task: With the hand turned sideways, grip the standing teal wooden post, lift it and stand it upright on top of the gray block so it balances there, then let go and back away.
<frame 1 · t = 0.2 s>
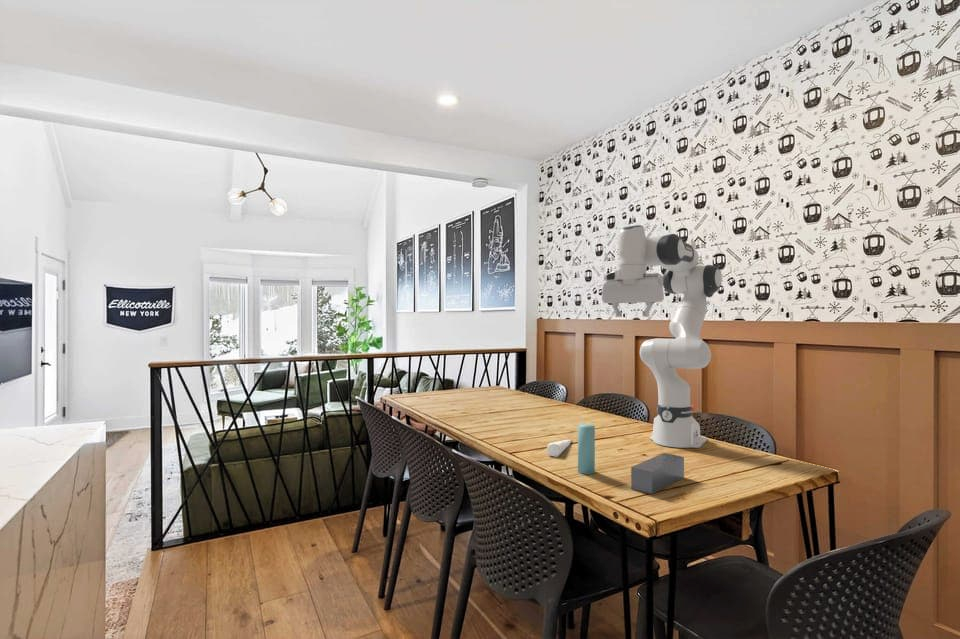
hand: (631, 316, 160), 47 cm above the table, tool pointing down, fingers open, 8 cm apart
unicorn horn: (561, 450, 175), on the table
gray block: (658, 482, 138), on the table
teal post: (586, 471, 149), on the table
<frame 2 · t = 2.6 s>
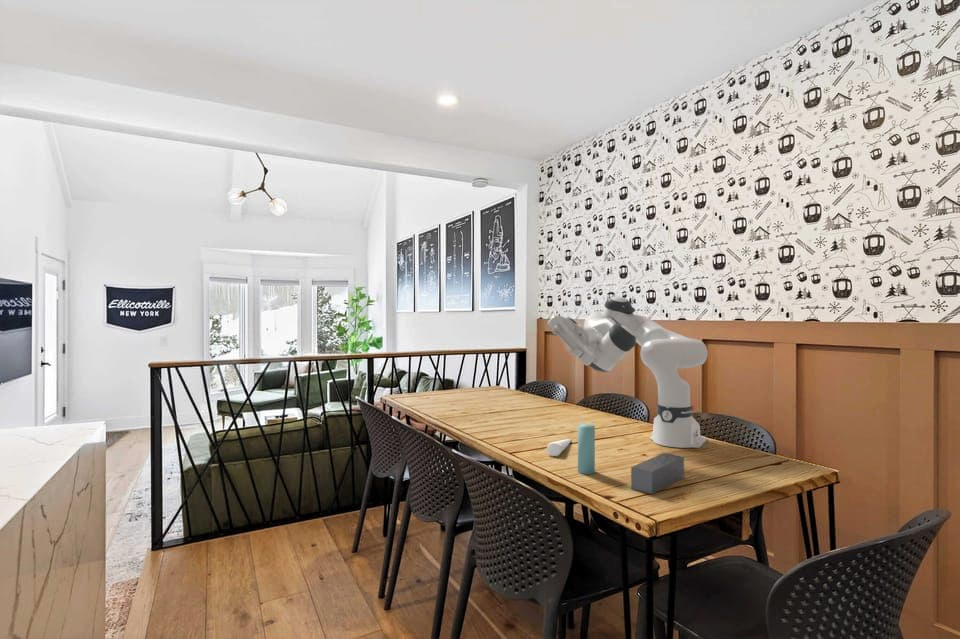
hand: (563, 340, 159), 39 cm above the table, tool horizontal, fingers open, 8 cm apart
nothing on the table moved.
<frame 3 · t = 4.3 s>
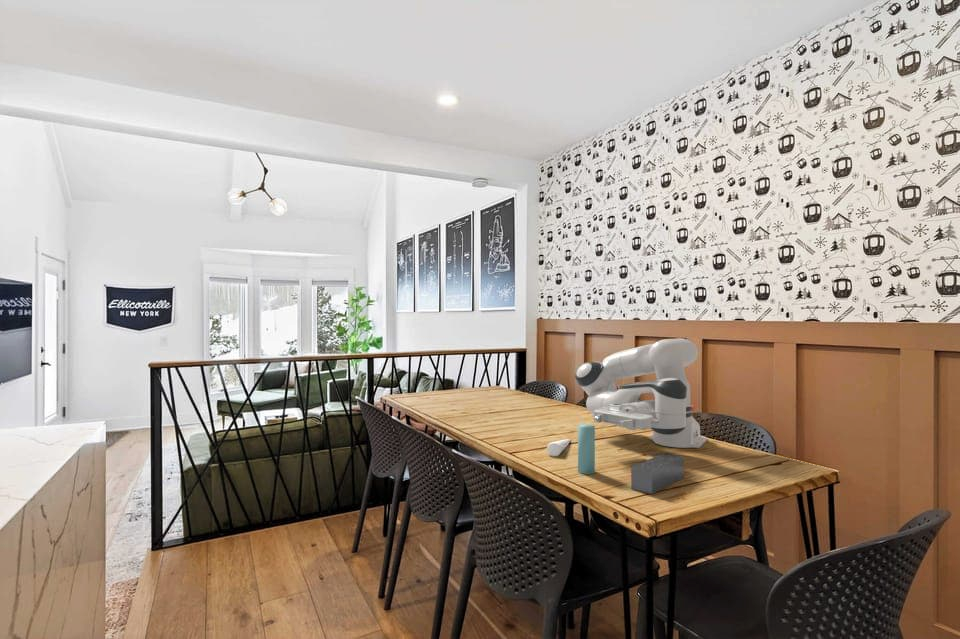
hand: (607, 422, 156), 13 cm above the table, tool horizontal, fingers open, 8 cm apart
nothing on the table moved.
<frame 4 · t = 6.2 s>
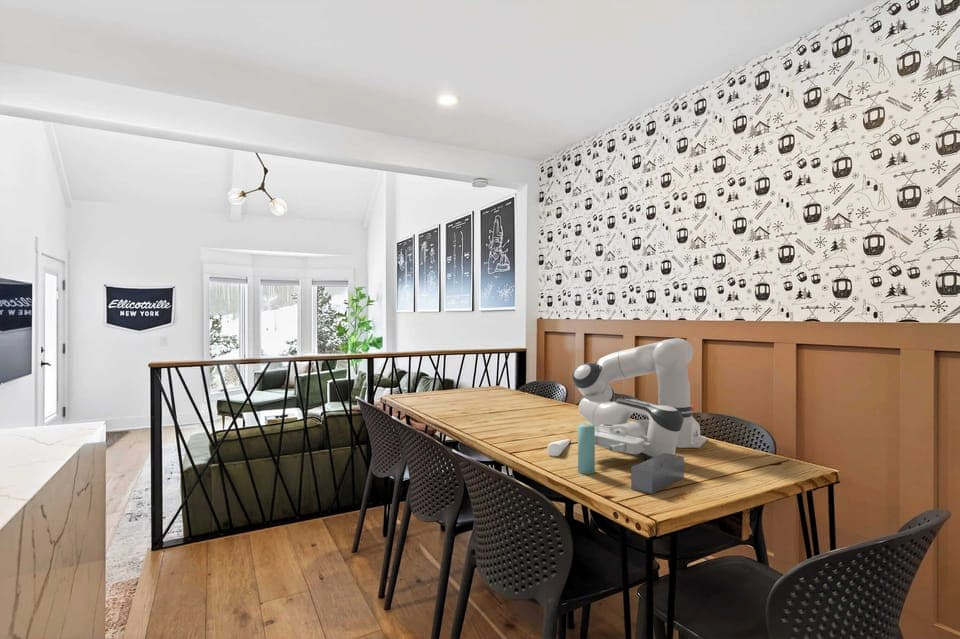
hand: (598, 445, 152), 7 cm above the table, tool horizontal, fingers open, 8 cm apart
nothing on the table moved.
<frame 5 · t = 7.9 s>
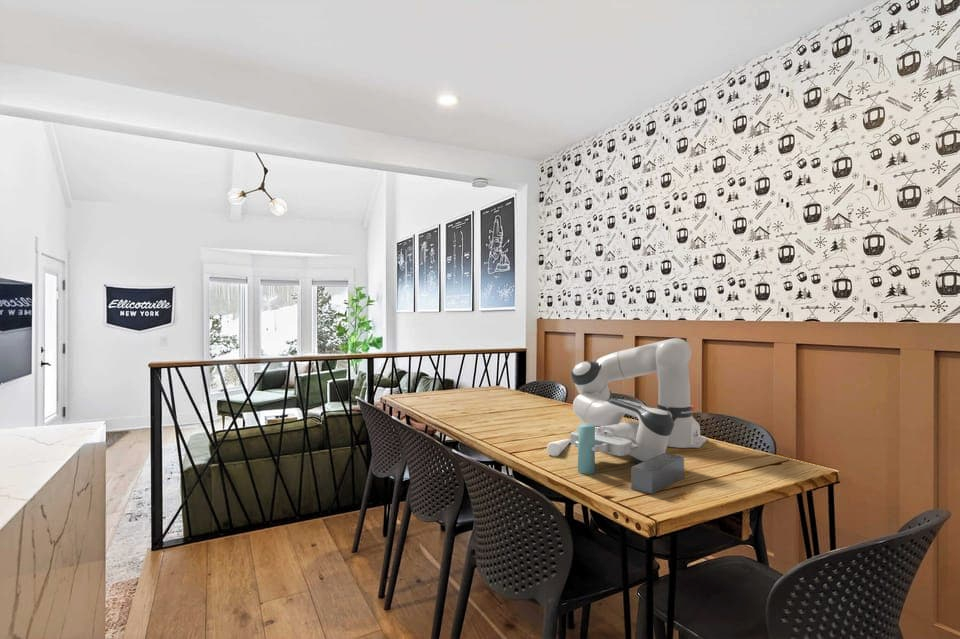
hand: (584, 446, 148), 8 cm above the table, tool horizontal, fingers closed on teal post, 5 cm apart
teal post: (586, 471, 149), on the table, touching gripper
everything else where it was.
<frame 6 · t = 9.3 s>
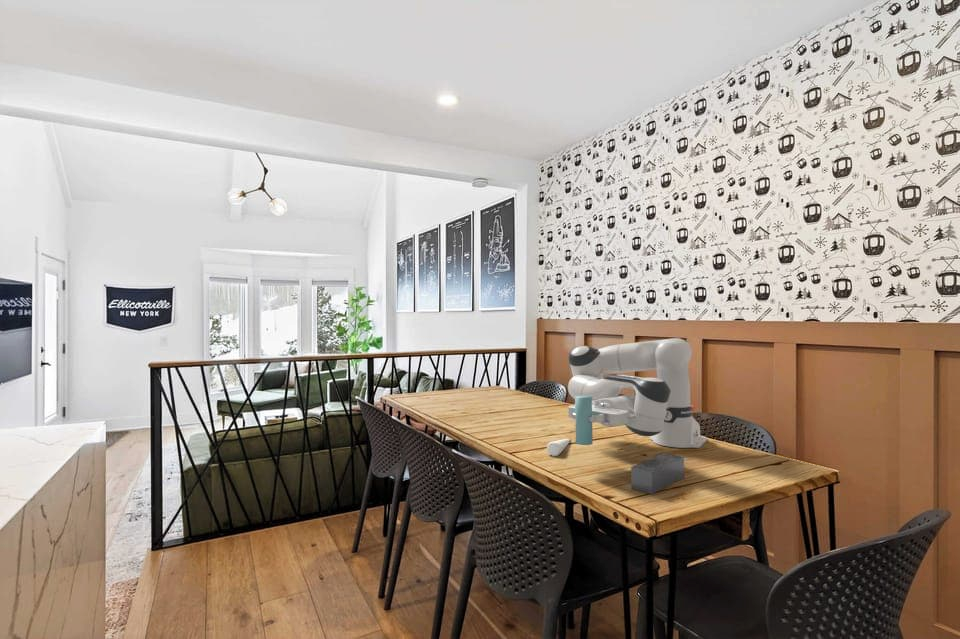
hand: (581, 417, 148), 17 cm above the table, tool horizontal, fingers closed on teal post, 5 cm apart
teal post: (584, 443, 148), point 9 cm above the table, touching gripper
everything else where it was.
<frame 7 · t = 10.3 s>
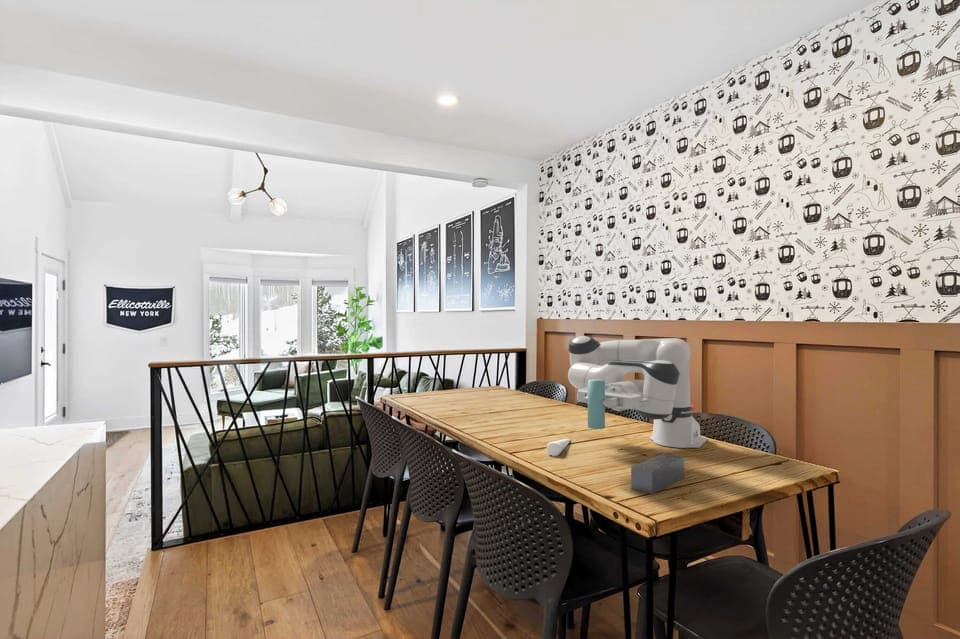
hand: (594, 401, 145), 22 cm above the table, tool horizontal, fingers closed on teal post, 5 cm apart
teal post: (596, 427, 146), point 14 cm above the table, touching gripper
when the fingers open (15 cm above the table, at t = 13.3 s): teal post drops 1 cm, resting on gray block.
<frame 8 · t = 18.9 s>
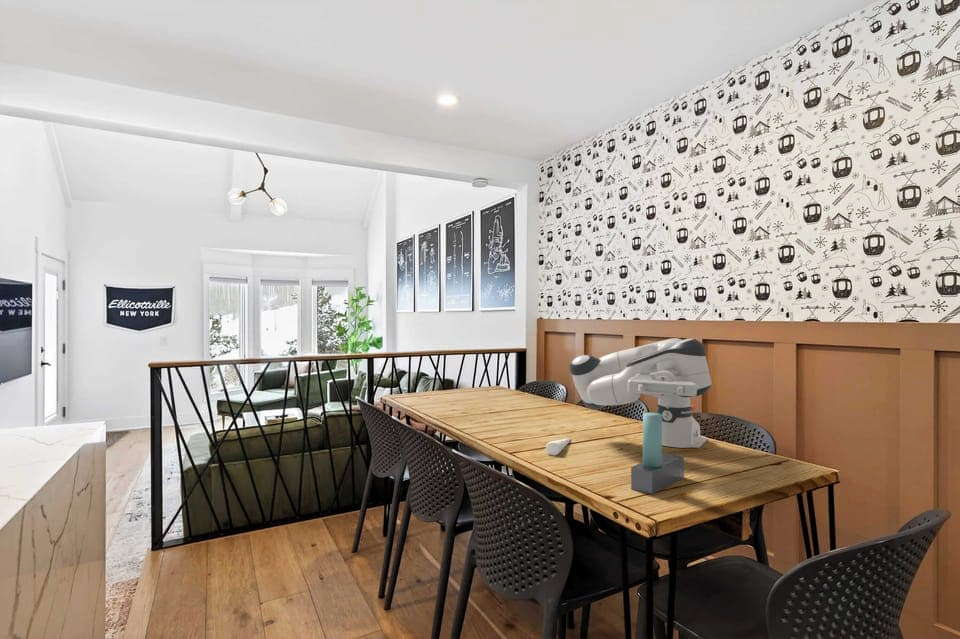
hand: (658, 390, 146), 25 cm above the table, tool horizontal, fingers open, 8 cm apart
teal post: (652, 464, 135), point 6 cm above the table, touching gray block
at the end: teal post inside the target area on the gray block (4.0 cm from its centre), point 6.0 cm above the gray block's base; teal post tilted 1°; the gripper is holding nothing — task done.
